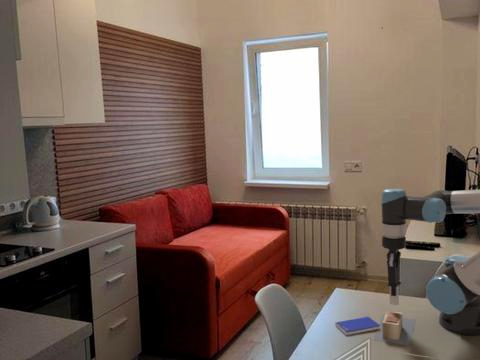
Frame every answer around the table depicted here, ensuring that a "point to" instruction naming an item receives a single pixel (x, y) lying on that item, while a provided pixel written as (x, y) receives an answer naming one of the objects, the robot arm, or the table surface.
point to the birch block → (392, 325)
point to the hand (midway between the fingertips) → (394, 303)
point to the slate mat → (404, 336)
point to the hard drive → (357, 325)
